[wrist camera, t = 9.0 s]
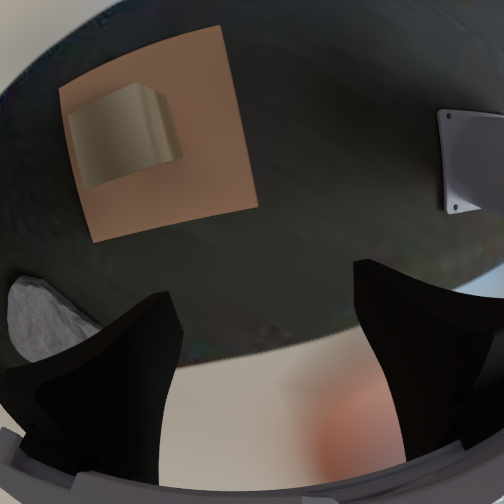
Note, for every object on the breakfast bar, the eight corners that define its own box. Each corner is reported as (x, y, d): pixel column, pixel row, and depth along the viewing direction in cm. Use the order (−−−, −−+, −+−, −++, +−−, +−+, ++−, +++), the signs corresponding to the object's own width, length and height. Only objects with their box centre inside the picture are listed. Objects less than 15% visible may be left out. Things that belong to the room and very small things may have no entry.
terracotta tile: (223, 35, 15) (219, 24, 13) (257, 200, 19) (258, 206, 17) (73, 90, 16) (58, 88, 14) (106, 234, 20) (93, 242, 18)
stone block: (30, 258, 22) (25, 333, 24) (3, 270, 18) (4, 352, 19) (123, 304, 25) (107, 378, 26) (106, 327, 20) (94, 405, 21)
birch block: (168, 96, 15) (136, 82, 10) (183, 157, 16) (155, 165, 11) (112, 118, 15) (67, 115, 10) (126, 175, 16) (85, 190, 12)
